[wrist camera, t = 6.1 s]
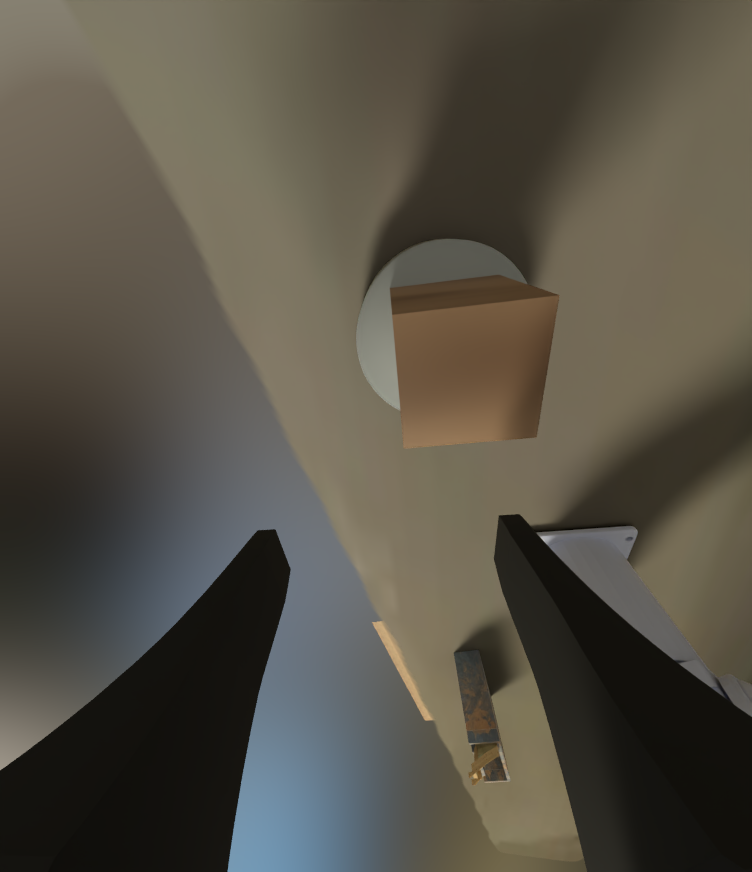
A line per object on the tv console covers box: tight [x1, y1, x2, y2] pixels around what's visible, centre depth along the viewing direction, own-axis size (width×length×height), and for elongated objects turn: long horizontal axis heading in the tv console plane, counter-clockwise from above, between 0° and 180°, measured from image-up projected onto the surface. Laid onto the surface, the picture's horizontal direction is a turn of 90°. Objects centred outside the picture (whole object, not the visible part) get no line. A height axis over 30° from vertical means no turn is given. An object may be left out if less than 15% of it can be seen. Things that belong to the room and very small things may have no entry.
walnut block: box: [390, 275, 559, 448], centre depth 12 cm, size 4×4×6 cm
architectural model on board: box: [372, 621, 510, 785], centre depth 33 cm, size 11×3×10 cm, turn 17°
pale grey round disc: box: [356, 239, 527, 410], centre depth 16 cm, size 8×8×3 cm
